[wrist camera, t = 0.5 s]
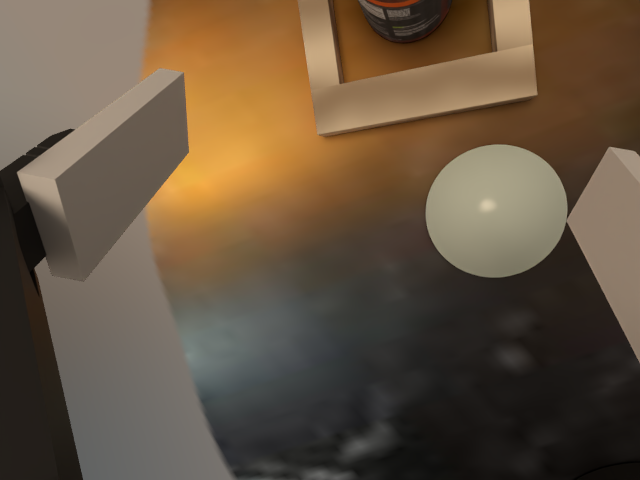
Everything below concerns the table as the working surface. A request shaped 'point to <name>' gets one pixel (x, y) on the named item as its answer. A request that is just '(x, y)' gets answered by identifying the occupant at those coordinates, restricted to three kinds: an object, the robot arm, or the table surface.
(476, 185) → the cream flat disc
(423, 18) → the supplement bottle
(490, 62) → the oak holder
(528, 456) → the table surface
